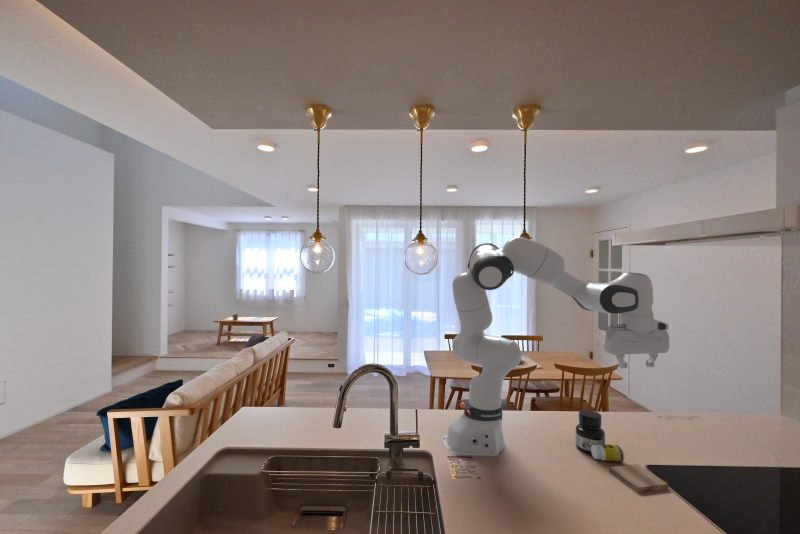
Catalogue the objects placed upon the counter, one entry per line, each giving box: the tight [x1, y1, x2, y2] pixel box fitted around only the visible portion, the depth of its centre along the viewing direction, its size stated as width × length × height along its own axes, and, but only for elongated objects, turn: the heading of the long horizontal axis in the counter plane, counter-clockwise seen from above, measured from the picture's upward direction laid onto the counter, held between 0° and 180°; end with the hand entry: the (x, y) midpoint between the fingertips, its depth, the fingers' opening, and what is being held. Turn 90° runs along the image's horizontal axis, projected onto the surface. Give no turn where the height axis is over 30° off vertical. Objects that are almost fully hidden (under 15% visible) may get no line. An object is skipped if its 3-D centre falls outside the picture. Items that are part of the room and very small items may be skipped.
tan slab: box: [608, 464, 669, 494], centre depth 99 cm, size 10×10×2 cm
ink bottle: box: [575, 409, 606, 455], centre depth 117 cm, size 10×9×12 cm
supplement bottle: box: [591, 443, 625, 462], centre depth 110 cm, size 5×5×8 cm
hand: (636, 367), depth 108 cm, fingers open, 8 cm apart
